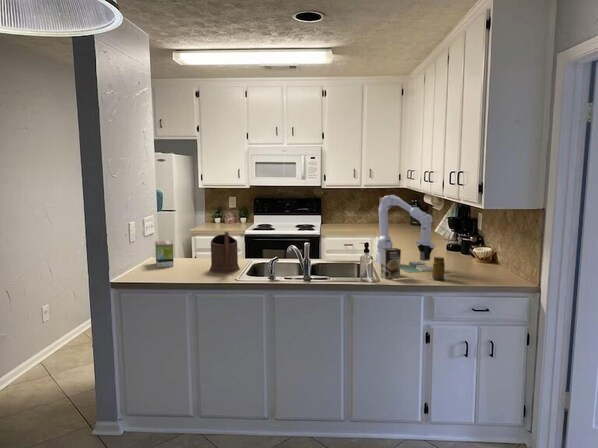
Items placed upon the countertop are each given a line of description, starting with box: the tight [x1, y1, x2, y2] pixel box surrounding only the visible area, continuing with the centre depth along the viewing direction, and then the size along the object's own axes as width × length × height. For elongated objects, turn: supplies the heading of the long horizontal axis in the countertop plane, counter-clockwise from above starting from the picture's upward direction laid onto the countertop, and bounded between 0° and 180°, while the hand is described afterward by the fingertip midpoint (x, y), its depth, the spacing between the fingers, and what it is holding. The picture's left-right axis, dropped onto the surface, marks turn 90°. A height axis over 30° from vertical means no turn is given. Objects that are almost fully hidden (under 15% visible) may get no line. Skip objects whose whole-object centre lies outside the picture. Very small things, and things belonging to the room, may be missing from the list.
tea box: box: [154, 240, 175, 268], centre depth 277 cm, size 15×10×15 cm, turn 22°
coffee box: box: [380, 247, 402, 280], centre depth 243 cm, size 9×6×16 cm
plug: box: [419, 251, 431, 262], centre depth 256 cm, size 3×5×6 cm
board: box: [400, 264, 433, 274], centre depth 260 cm, size 17×18×3 cm
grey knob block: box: [408, 260, 426, 268], centre depth 267 cm, size 7×7×2 cm
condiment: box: [430, 256, 450, 282], centre depth 238 cm, size 7×8×12 cm
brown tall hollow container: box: [209, 230, 241, 274], centre depth 260 cm, size 18×24×25 cm
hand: (425, 258), depth 257 cm, fingers closed on plug, 3 cm apart
